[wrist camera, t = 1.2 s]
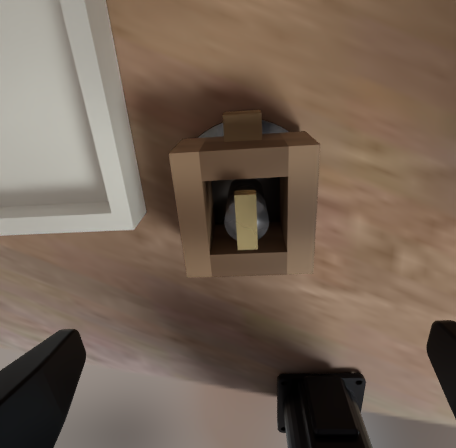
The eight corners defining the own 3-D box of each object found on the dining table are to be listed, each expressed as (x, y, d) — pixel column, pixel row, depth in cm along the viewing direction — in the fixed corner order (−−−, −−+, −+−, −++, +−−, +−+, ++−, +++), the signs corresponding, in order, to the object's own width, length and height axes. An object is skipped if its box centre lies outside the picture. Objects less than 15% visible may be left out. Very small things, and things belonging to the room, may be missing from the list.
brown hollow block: (301, 240, 19) (313, 273, 16) (196, 244, 19) (187, 277, 16) (305, 106, 16) (321, 114, 13) (179, 114, 16) (164, 124, 13)
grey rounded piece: (313, 249, 19) (333, 300, 15) (185, 253, 20) (169, 304, 16) (320, 113, 16) (350, 127, 12) (166, 123, 17) (139, 140, 12)
